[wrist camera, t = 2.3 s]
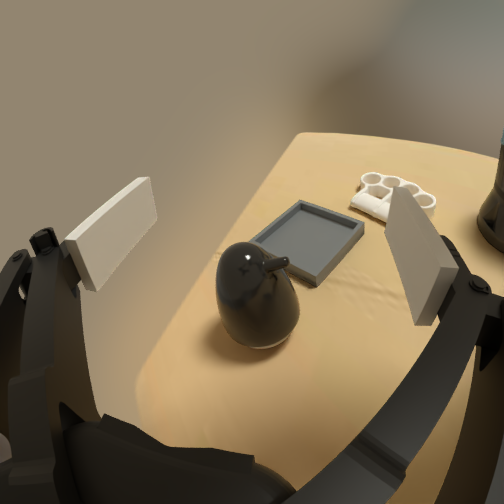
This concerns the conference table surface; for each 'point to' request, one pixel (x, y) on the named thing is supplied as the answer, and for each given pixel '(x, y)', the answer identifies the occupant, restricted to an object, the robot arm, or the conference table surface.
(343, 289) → the conference table surface
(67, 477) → the robot arm
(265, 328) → the pump dispenser
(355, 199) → the knuckle duster
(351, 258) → the conference table surface
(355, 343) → the conference table surface
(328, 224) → the holder tray
